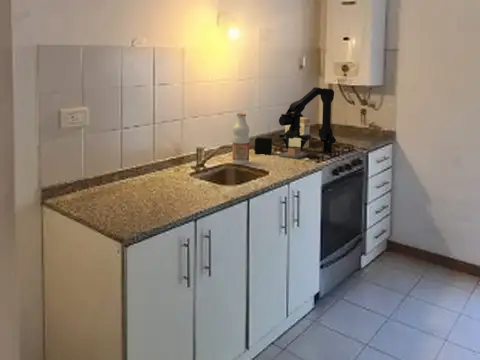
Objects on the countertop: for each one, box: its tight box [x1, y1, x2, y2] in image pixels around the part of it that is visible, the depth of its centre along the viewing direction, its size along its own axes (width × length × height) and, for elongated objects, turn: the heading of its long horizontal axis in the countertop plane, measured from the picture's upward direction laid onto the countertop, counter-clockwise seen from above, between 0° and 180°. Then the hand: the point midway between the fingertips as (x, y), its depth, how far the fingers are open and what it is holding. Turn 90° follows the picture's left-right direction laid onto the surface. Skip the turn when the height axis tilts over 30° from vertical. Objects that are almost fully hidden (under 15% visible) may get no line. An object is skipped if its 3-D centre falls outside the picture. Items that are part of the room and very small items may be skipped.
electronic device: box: [254, 136, 273, 156], centre depth 325 cm, size 4×10×10 cm, turn 78°
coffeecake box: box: [284, 116, 311, 149], centre depth 350 cm, size 15×7×20 cm, turn 51°
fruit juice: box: [231, 112, 250, 165], centre depth 297 cm, size 9×9×28 cm
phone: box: [287, 146, 301, 156], centre depth 322 cm, size 8×4×4 cm, turn 149°
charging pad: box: [278, 151, 309, 160], centre depth 322 cm, size 15×12×1 cm
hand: (294, 150), depth 322 cm, fingers open, 9 cm apart
